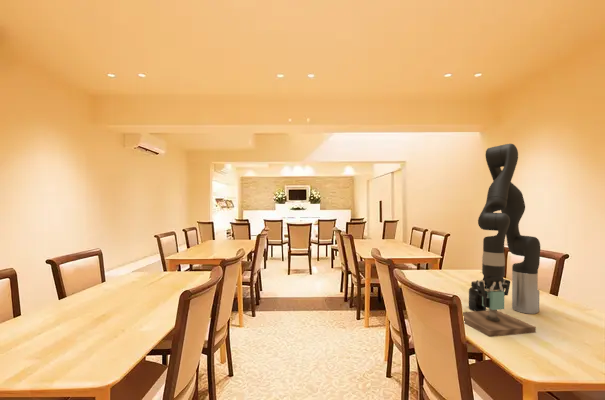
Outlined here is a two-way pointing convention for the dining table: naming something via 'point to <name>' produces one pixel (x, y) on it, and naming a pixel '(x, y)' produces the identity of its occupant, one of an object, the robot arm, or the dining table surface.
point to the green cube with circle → (496, 300)
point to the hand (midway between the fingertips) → (493, 306)
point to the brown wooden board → (496, 323)
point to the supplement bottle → (475, 298)
